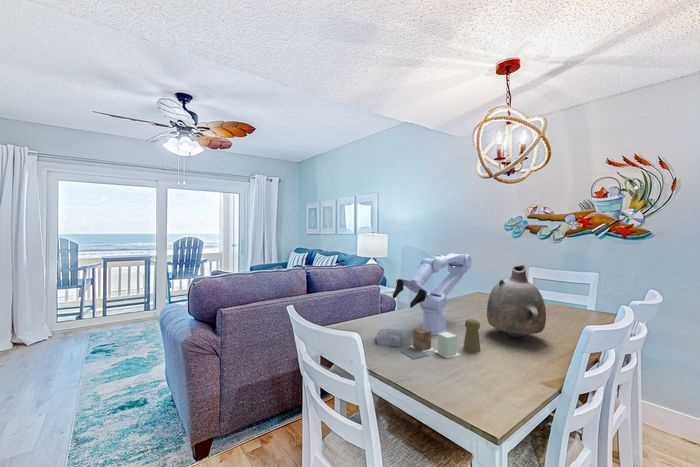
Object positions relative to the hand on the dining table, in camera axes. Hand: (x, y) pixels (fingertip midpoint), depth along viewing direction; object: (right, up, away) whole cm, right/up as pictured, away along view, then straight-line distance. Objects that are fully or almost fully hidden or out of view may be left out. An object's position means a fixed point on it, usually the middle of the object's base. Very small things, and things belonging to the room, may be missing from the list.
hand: (402, 301), depth 116 cm
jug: (+48, -17, +10) cm, 52 cm away
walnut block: (+7, -17, -3) cm, 18 cm away
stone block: (-5, -17, +4) cm, 18 cm away
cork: (+25, -17, -4) cm, 31 cm away
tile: (+15, -17, -8) cm, 24 cm away
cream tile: (+7, -17, -3) cm, 18 cm away
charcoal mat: (+3, -17, -9) cm, 19 cm away
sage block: (+15, -17, -8) cm, 24 cm away
